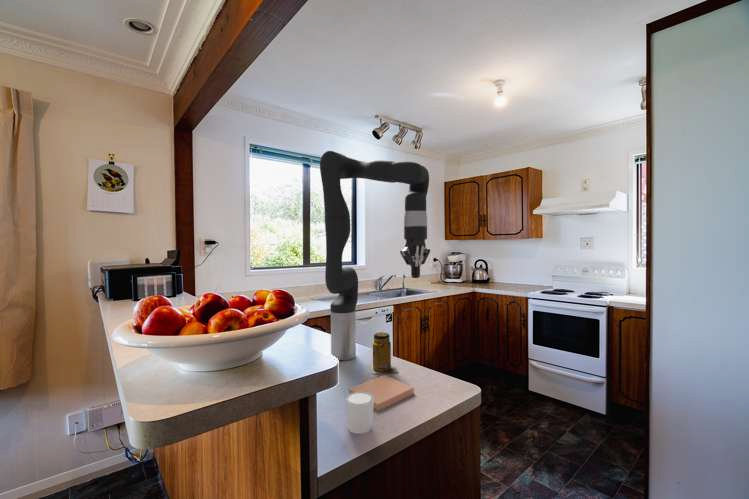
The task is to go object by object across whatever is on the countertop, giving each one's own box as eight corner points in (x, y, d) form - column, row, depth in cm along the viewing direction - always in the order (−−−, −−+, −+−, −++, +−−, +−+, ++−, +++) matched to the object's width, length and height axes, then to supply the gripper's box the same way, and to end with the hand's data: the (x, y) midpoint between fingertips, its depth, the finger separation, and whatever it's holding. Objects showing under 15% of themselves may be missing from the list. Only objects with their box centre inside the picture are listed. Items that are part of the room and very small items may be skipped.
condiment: (371, 365, 118) (370, 331, 117) (395, 364, 119) (395, 330, 118) (373, 374, 110) (372, 338, 110) (398, 373, 111) (398, 337, 111)
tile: (384, 374, 106) (348, 388, 96) (413, 387, 97) (377, 404, 87) (384, 381, 106) (349, 396, 96) (413, 395, 97) (378, 412, 87)
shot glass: (339, 430, 79) (339, 401, 79) (354, 416, 85) (354, 389, 85) (365, 438, 76) (365, 407, 75) (379, 423, 82) (379, 394, 81)
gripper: (419, 225, 119) (419, 275, 120) (393, 225, 110) (393, 278, 111) (437, 225, 113) (437, 277, 114) (410, 224, 104) (410, 280, 105)
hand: (415, 277), depth 112 cm, fingers closed
